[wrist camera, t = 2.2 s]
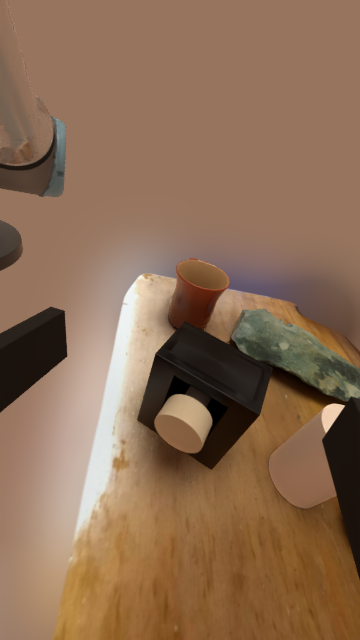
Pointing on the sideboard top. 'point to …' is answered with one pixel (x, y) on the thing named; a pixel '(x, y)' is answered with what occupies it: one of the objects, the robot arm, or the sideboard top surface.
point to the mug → (196, 292)
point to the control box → (208, 386)
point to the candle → (305, 462)
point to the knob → (185, 420)
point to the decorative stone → (296, 353)
